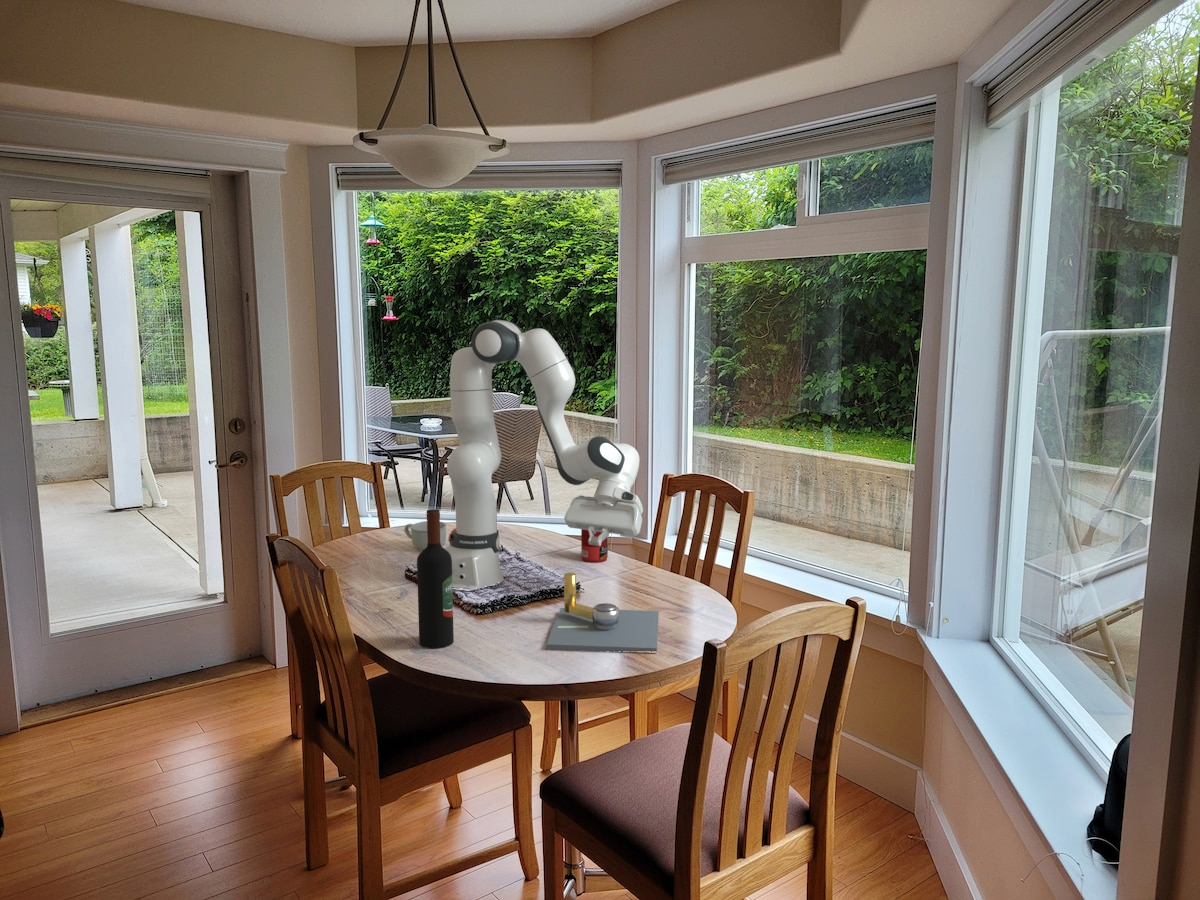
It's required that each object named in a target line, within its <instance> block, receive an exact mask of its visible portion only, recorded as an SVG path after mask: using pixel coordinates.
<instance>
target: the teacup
mask: <svg viewBox="0 0 1200 900" xmlns="http://www.w3.org/2000/svg"><path fill="white" fill-rule="evenodd" d="M446 527H447V524H446V523H445V522H442V521H440V543H441V546H442V547H443V546H445V544H446V541H447V540H446V539H447V530H446V529H447V528H446ZM409 528H410V529H411V531H410V530H409ZM404 534H405V535H406V536H407V537H408V538H409V539H410V540H411V542H412V545H413V547H415V549H417V550H418V551H420V552H422V551H423V550H424V549H425V548H426V547H427V543H428V539H427V520H426V521H425V520H424V521H420V522H415V523H407V524H406V525H405V527H404Z"/></svg>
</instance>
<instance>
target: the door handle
mask: <svg viewBox="0 0 1200 900" xmlns="http://www.w3.org/2000/svg"><path fill="white" fill-rule="evenodd" d="M563 577H564V578H563V579H564V580H563V582H564V584H563V587H564V589H563V591H564V592H563V593H564V594H563V597H564V600H563V601H564V602H563V603H564V604H563V605H564V606H563V608H564V611H565V612H567V613H571V614H575V615H578V616H581V617H585V618H588V619H591V620H593V623H594V624H596V625H600V626H611V625H615V624H617V623H618V622H619V610H620V609H619V607H618V606H616V605H615V604H614V603H608V602H607V603H598V604H596V605H594V606H593V607H591V606H587V605H584V604H580V603H578V602H577V574H576V573H575V572H566V573H563Z"/></svg>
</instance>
